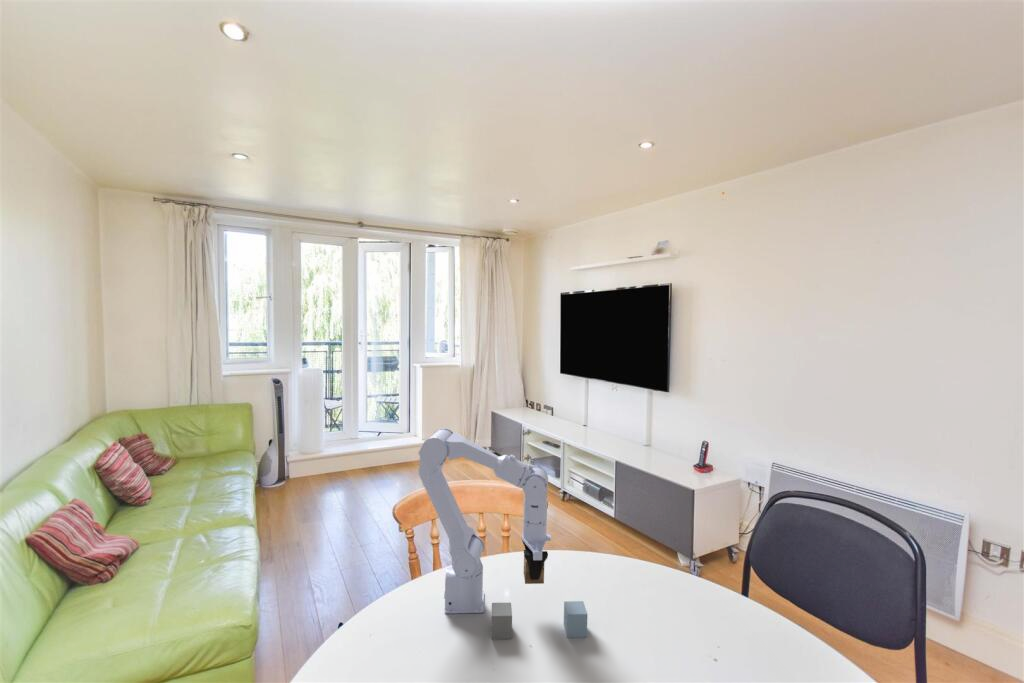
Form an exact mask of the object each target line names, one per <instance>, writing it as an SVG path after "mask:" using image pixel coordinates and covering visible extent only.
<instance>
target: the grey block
mask: <svg viewBox="0 0 1024 683" xmlns="http://www.w3.org/2000/svg"><path fill="white" fill-rule="evenodd" d="M512 609H513V608H512V602H491V620H490V621H491V623H490V624H491V630H490V632H491V640H512V639H513V635H512V634H513V610H512Z"/></svg>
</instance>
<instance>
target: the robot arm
mask: <svg viewBox="0 0 1024 683" xmlns="http://www.w3.org/2000/svg"><path fill="white" fill-rule="evenodd" d="M418 456H419V462H418V463H419V464H418V465H419V466H418V476H419V478H420V480H421V482H422V485H423V486H424V489H425V491H426V493H427V495H428V497H429V499H430V501H431V504H432V506H433V507H434V511H435V513H436V514H437V516H438V518H439V520H440V523H441V525H442V526H443V529H444V531H445V533H446V535H447V537H448V540H449V542H448V544H449V546H448V551H449V555H450V557H451V567H447V568H446V569H445V577H444V578H445V580H444V595H443V596H444V597H443V599H444V614H482V613H484V612H485V592H484V590H483V584H484V583H483V580H484V578H483V576H484V565H483V563H482V560H481V557H482V555H483V553H484V552H485V544H484V543H485V542H484V541H483V539H482V538H481V537H480V536H479V535H477V533H476V532H475V530H474V528H473V527H471V526H468V524H467V522H466V519H465V518H464V515H463V514H462V511H461V509H460V507H459V505H458V503H457V500H456V499H455V496H454V494H453V492H452V489H450V486H449V483H448V482H447V479H446V478H445V475H444V472H443V470H442V469H443V467H444V465H445V462H446V460H447V458H448V461H453V460H456V459H460V458H464V459H467V460H470V461H472V462H474V463H476V464H479V465H481V466H484V467H486V468H489V469H491V470H493V471H492V472H493V473H494V475H495V477H496V478H498V479H501V480H503V481H505V482H507V483H509V484H511V485H512V486H515V487H517V488H519V489H522V492H523V493H524V499H523V509H522V510H523V511H522V513H523V515H522V516H523V519H522V521H523V522H522V535H521V541H522V543H523V546H524V549H523V557H524V556H525V558H526V560H527V563H528V567H529V574H530V579H531V580H539V578H540V575H541V571H542V567H543V564H544V565H545V562H546V560H547V559H548V556H549V553H548V551H547V550H546V551H545V550H544V548H545V546H546V544H547V542H548V541H549V542H550V541H552V535H551V534H550V533H547V528H548V527H547V522H548V493H547V492H548V488H549V487H548V483H549V475H548V473H547V471H546V470H545V469H544V468H543V467H541V466H540V465H533V464H531V463H530V464H527V463H525V462H522V461H520V460H518V459H517V458H516V456H515V455H514V454H510V455H508V454H503V455H497V454H495V453H493V452H492V451H490V450H489V449H486V448H485V447H483V446H480V445H479V444H477V443H475V442H473V441H472V440H470V439H467V438H466V437H465V436H463V435H462V434H461V433H459V432H456V431H452V430H451V429H450V428H447V427H442V428H439V429H437V430H435V431H434V433H433V434H432V435H431V436H430V437H429V438H427V439H426V440H425V441H424V442H423V444H422V445H421V446H420V449H419V451H418ZM543 550H544V551H543Z"/></svg>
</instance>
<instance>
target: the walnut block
mask: <svg viewBox="0 0 1024 683" xmlns="http://www.w3.org/2000/svg"><path fill="white" fill-rule="evenodd" d="M523 578H524V584H525V585H531V584H532V585H536V584H537V585H541V584H542V585H543V584H545V563H544V564H543V567H542V571H541V575H540V578H539V580H531V579H530V574H529V567H528V563H527V560H526V558H525V556H524V555H523Z"/></svg>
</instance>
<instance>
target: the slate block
mask: <svg viewBox="0 0 1024 683" xmlns="http://www.w3.org/2000/svg"><path fill="white" fill-rule="evenodd" d="M563 626H564V631H565V635H566V638H568V639H569V638H572V639H573V638H576V639H577V638H587V637H588V612H587V608H586V605H585V602H584V600H583V601H582V600H581V601H579V600H576V601H575V600H573V601H569V600H568V601H566V600H565V601H563Z"/></svg>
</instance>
